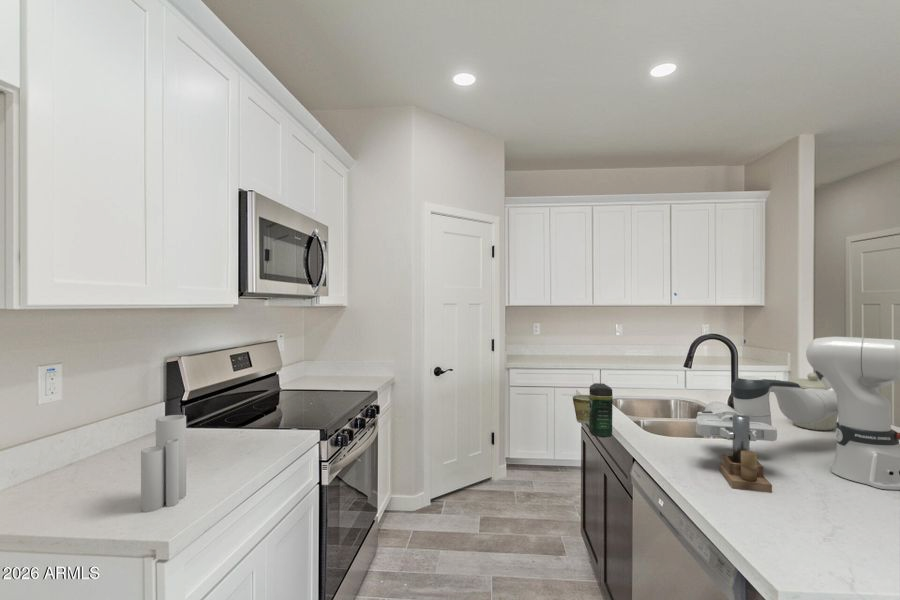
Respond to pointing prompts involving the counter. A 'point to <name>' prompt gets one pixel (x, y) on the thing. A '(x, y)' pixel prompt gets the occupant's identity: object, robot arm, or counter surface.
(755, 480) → the walnut housing
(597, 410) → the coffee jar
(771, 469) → the counter surface
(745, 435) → the grey metal pin
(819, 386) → the beige round tub
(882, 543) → the counter surface
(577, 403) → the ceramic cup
